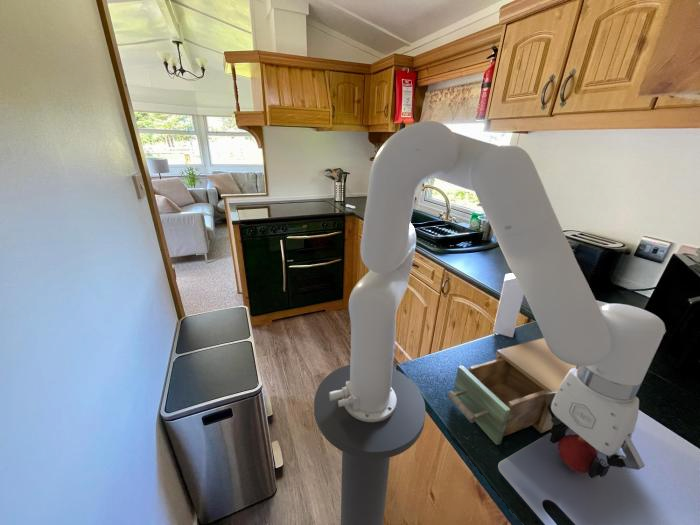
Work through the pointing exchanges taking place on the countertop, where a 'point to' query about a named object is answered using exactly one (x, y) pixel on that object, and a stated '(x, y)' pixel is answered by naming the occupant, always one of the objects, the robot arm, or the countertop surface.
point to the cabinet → (538, 370)
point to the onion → (576, 453)
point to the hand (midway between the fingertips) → (574, 455)
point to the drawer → (497, 398)
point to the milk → (508, 306)
